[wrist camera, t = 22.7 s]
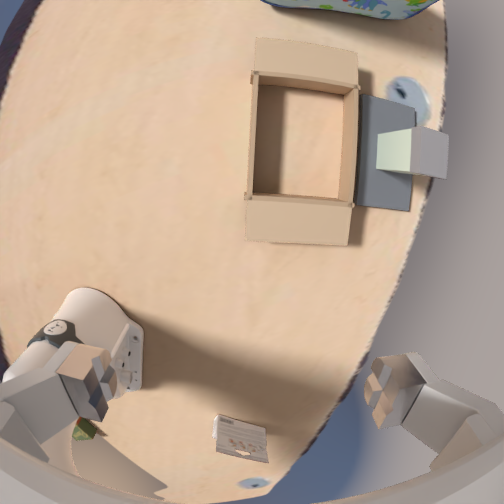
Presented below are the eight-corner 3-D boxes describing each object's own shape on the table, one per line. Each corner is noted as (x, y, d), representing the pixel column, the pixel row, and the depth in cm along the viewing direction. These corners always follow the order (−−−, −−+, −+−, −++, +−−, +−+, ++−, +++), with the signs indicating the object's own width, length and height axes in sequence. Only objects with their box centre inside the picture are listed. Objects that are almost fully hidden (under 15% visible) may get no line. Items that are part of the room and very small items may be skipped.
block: (399, 173, 35) (446, 179, 25) (375, 169, 35) (419, 173, 24) (401, 139, 34) (448, 135, 23) (377, 133, 33) (421, 125, 23)
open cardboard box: (339, 238, 39) (349, 245, 35) (242, 233, 38) (242, 240, 34) (349, 62, 31) (359, 53, 27) (252, 49, 31) (253, 37, 27)
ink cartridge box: (260, 432, 51) (262, 468, 42) (213, 418, 49) (209, 456, 40) (266, 427, 51) (269, 463, 41) (218, 412, 49) (215, 450, 39)
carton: (55, 386, 48) (47, 397, 44) (98, 429, 52) (93, 440, 48) (41, 391, 49) (34, 401, 45) (81, 431, 53) (76, 442, 49)
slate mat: (405, 209, 38) (408, 211, 37) (354, 203, 37) (356, 204, 36) (411, 109, 33) (414, 108, 32) (359, 95, 33) (362, 93, 32)
